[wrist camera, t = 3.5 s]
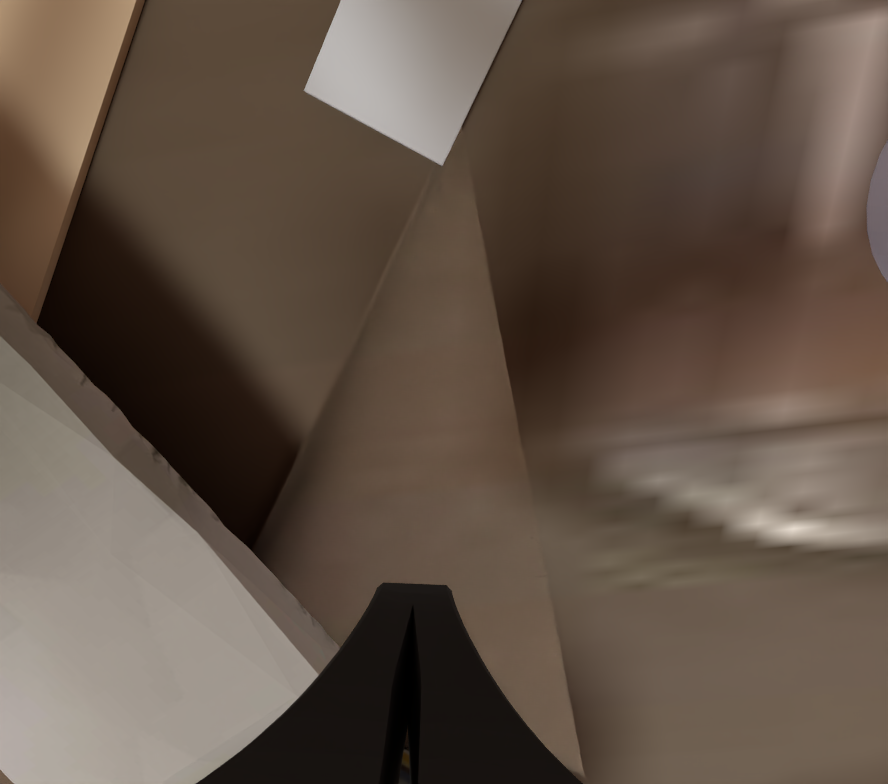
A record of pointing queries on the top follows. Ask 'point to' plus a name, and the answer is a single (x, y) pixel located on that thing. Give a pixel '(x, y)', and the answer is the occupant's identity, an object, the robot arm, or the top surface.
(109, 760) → the packaged product
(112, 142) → the top surface
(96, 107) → the cork trivet
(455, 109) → the brown and white block
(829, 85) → the top surface
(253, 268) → the top surface
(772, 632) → the top surface
